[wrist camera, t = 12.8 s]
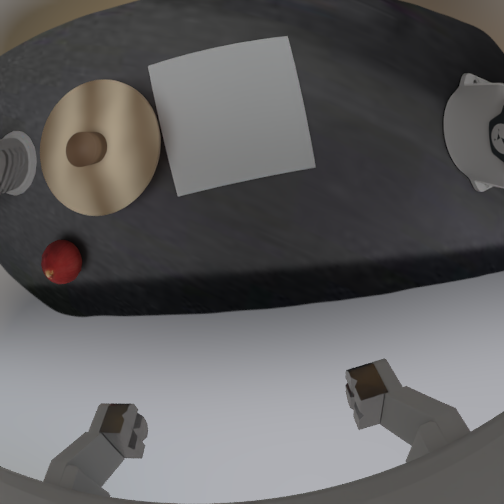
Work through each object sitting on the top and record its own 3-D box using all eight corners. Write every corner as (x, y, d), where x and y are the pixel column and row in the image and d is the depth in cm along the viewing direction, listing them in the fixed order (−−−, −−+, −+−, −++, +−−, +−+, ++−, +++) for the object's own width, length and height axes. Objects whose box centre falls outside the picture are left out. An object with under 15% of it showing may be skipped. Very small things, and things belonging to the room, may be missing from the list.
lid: (145, 61, 25) (134, 52, 22) (176, 194, 31) (168, 201, 27) (34, 111, 26) (15, 111, 22) (63, 228, 31) (46, 238, 28)
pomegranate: (62, 270, 39) (35, 295, 31) (54, 233, 37) (24, 254, 29) (94, 270, 39) (69, 297, 32) (86, 231, 37) (58, 252, 30)
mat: (287, 37, 29) (287, 36, 29) (314, 167, 36) (315, 167, 35) (148, 66, 30) (147, 66, 30) (178, 196, 36) (177, 196, 36)
